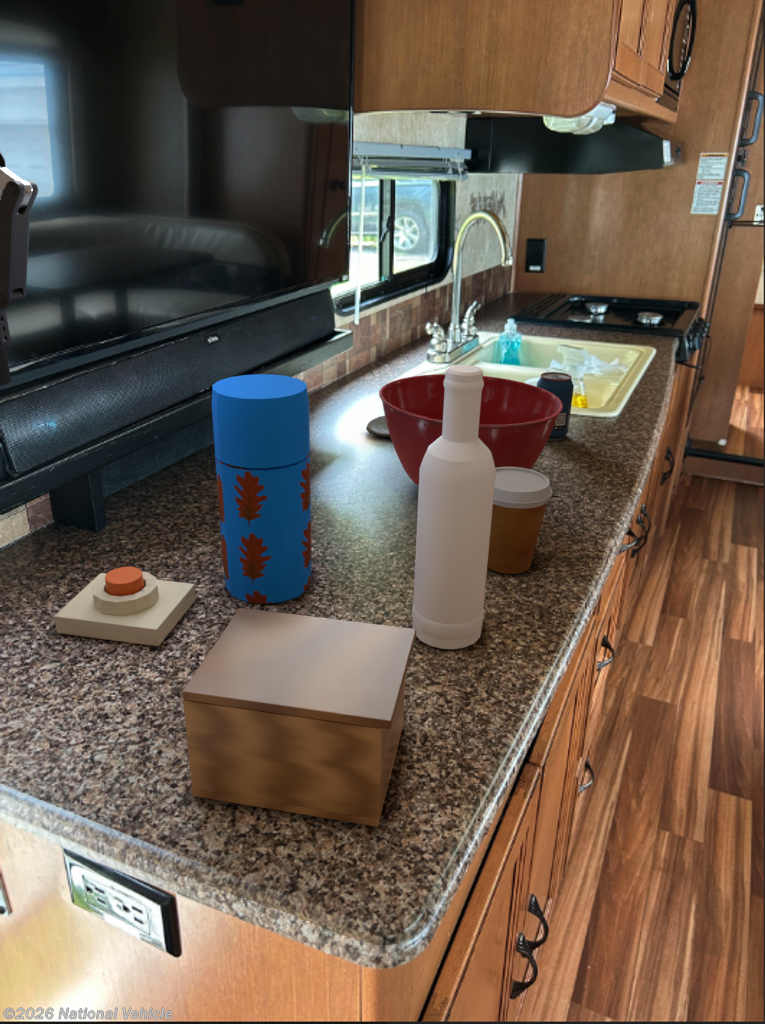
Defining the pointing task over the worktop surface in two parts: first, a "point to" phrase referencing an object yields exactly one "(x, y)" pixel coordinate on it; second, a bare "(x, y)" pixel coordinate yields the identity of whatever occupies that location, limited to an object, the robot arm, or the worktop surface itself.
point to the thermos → (263, 485)
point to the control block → (127, 611)
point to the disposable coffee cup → (516, 518)
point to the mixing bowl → (502, 424)
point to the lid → (378, 427)
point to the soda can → (564, 391)
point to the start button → (124, 581)
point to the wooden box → (291, 761)
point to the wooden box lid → (306, 667)
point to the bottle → (454, 520)
